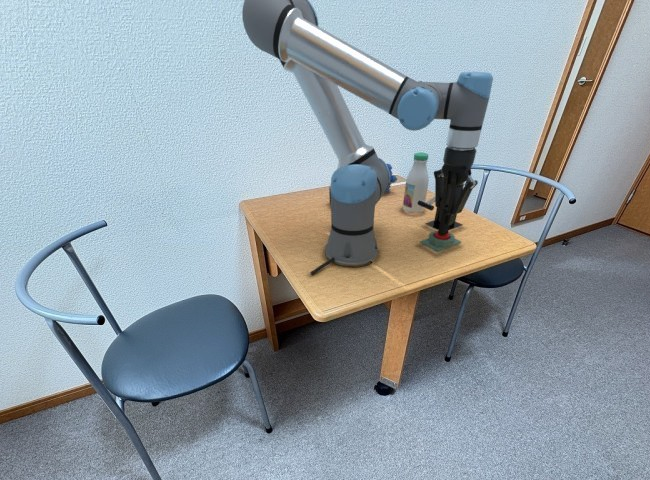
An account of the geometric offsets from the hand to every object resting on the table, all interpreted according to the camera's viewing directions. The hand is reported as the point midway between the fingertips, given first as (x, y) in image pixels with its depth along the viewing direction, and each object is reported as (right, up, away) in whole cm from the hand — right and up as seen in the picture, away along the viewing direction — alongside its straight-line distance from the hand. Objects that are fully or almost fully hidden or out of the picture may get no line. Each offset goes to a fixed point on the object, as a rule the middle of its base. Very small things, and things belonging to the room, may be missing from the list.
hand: (442, 233), depth 96 cm
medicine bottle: (-30, +16, +28) cm, 44 cm away
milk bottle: (-3, +13, +24) cm, 27 cm away
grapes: (-10, +25, +39) cm, 47 cm away
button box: (0, -3, +3) cm, 4 cm away
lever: (+1, +11, +5) cm, 12 cm away
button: (0, -2, +1) cm, 2 cm away
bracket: (+4, +5, +13) cm, 15 cm away
